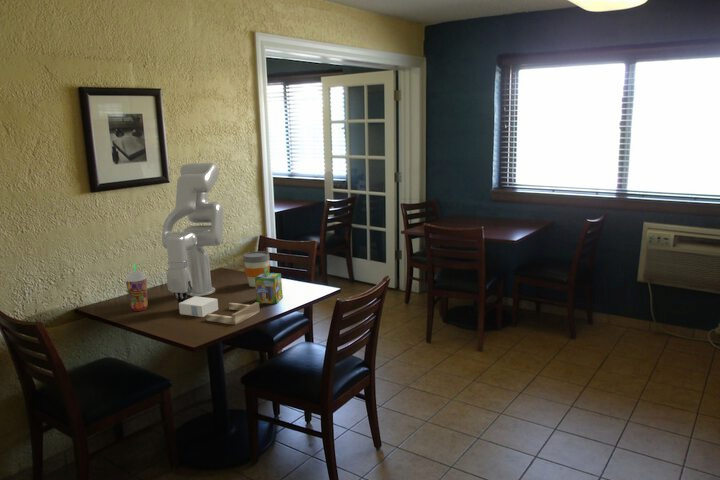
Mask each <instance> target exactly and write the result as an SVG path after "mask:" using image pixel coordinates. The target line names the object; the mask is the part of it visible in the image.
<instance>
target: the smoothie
mask: <svg viewBox="0 0 720 480" xmlns="http://www.w3.org/2000/svg"><path fill="white" fill-rule="evenodd" d="M132 266H133V270H131V271H130V272H128V273H127V275H126V277H125V284H126V288H127V293H128V295H127V296H128V299H129V304H130V308H131V309H132V311H133V312H141V311H145V310H147V308H148V305H149V304H148V301H149V300H148V284H147V276H146V274H145V273H144V272H143V271H141V270H139V269H136V264H135V263H133V265H132Z"/></svg>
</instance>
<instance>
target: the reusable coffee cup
mask: <svg viewBox="0 0 720 480" xmlns="http://www.w3.org/2000/svg"><path fill="white" fill-rule="evenodd" d="M270 259H271V258H270V252H268V251H263V250H261V251H260V250H259V251H249V252H246V253H244V254H243V261H242V262H244V271H245V276H246V277H247V283H248V286H249V287H252V288H256V285H255V278H256V277H257V276H259V275H260V274H262V273H264V269H265V268H266V267H268V270H269V271H270V268H271V267H270V265H271V264H270ZM266 273H268V271H267V270H266Z"/></svg>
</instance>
